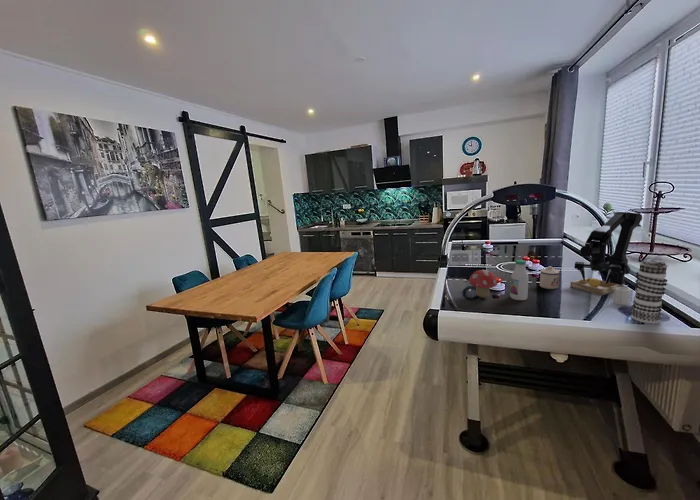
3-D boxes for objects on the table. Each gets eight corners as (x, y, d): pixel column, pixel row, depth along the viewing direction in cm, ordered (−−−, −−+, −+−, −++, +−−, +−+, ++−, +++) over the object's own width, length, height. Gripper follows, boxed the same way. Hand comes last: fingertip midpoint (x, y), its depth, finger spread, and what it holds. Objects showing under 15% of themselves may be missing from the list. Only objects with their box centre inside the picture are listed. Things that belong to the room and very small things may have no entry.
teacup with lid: (553, 290, 159) (555, 269, 157) (536, 286, 167) (537, 266, 165) (564, 285, 166) (565, 265, 163) (546, 281, 173) (547, 262, 171)
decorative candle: (624, 313, 129) (632, 257, 124) (651, 314, 126) (660, 258, 121) (638, 322, 120) (646, 263, 115) (666, 324, 117) (677, 263, 112)
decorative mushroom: (499, 302, 149) (501, 273, 145) (471, 302, 151) (472, 274, 148) (492, 293, 161) (493, 266, 158) (466, 292, 164) (467, 266, 161)
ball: (592, 279, 162) (591, 275, 159) (602, 283, 158) (602, 279, 155) (586, 286, 162) (585, 281, 159) (596, 290, 158) (596, 286, 155)
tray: (588, 282, 168) (589, 277, 167) (619, 290, 154) (620, 284, 153) (570, 286, 163) (570, 281, 162) (600, 295, 149) (601, 289, 149)
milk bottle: (525, 295, 155) (527, 258, 151) (528, 301, 148) (531, 262, 144) (508, 294, 157) (510, 258, 153) (511, 300, 150) (513, 262, 146)
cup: (617, 300, 142) (619, 286, 141) (631, 303, 138) (633, 289, 136) (610, 302, 141) (612, 288, 139) (623, 305, 136) (625, 291, 134)
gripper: (575, 255, 154) (572, 284, 157) (623, 259, 143) (619, 289, 146) (576, 251, 163) (573, 278, 166) (621, 254, 151) (618, 283, 154)
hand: (595, 282), depth 158 cm, fingers open, 9 cm apart
